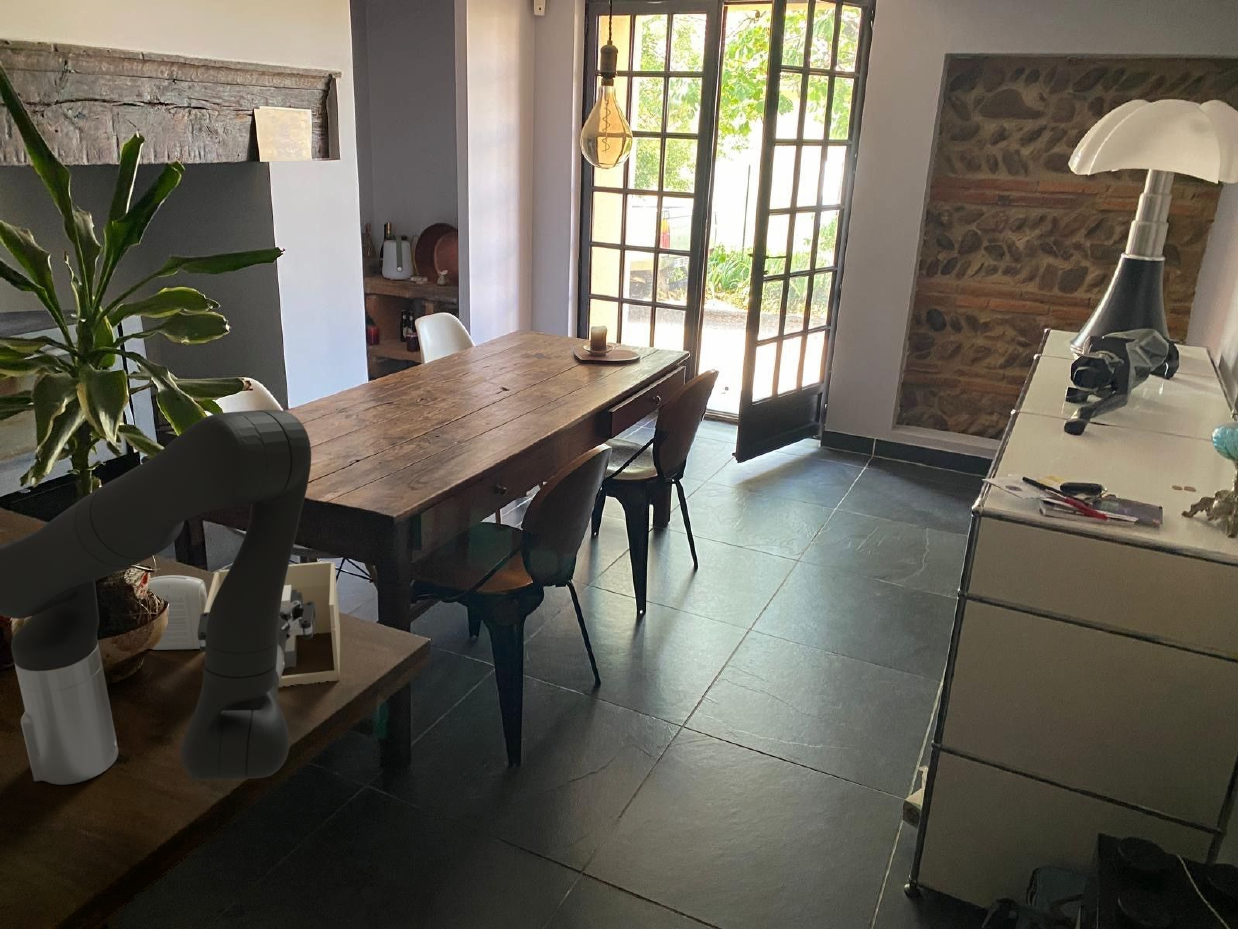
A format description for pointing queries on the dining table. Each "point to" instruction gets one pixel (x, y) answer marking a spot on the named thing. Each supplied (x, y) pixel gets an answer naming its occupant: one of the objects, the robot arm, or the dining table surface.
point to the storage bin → (314, 586)
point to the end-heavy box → (291, 643)
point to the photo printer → (180, 609)
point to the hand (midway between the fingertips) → (262, 598)
